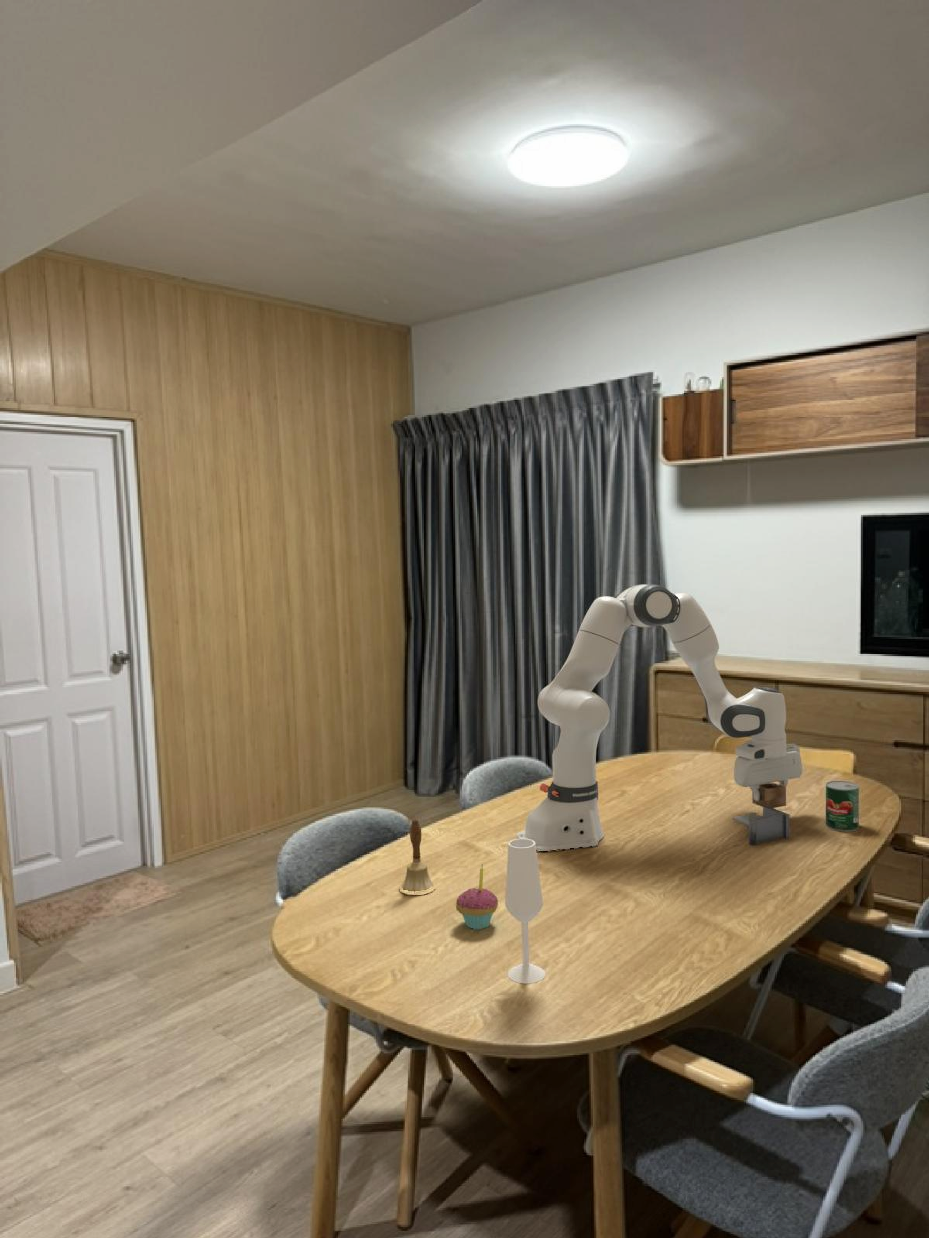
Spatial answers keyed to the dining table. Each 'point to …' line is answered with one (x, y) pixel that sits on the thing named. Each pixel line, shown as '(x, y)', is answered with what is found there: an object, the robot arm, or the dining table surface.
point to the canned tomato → (842, 806)
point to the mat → (744, 819)
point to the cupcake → (477, 905)
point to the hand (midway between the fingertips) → (768, 797)
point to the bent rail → (768, 826)
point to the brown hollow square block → (771, 795)
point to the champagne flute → (523, 901)
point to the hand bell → (416, 864)
